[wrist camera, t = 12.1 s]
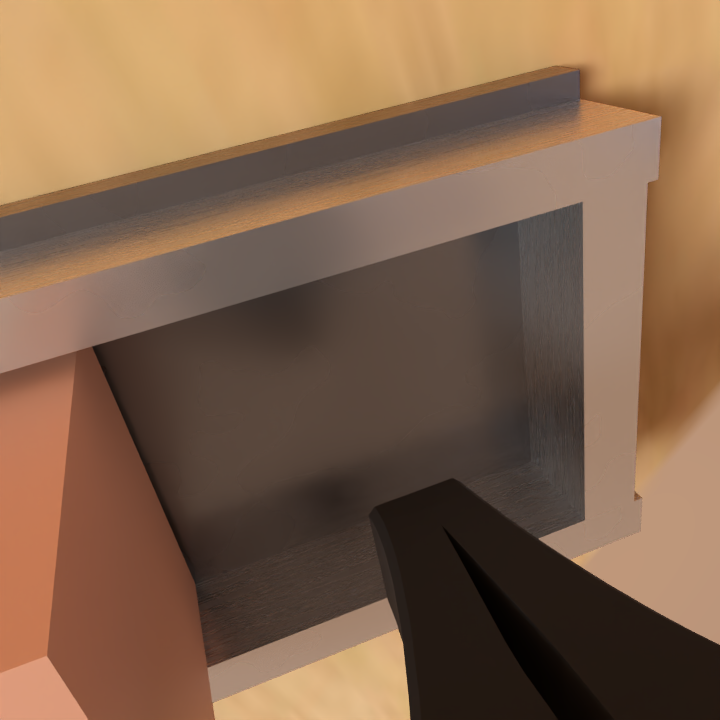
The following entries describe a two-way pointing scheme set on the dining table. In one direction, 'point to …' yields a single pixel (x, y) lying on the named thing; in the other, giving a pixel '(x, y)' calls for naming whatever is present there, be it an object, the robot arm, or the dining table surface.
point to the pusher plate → (88, 561)
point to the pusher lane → (357, 341)
